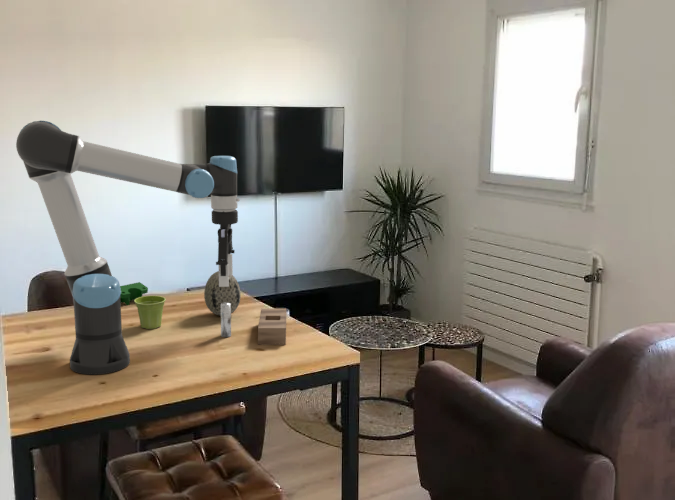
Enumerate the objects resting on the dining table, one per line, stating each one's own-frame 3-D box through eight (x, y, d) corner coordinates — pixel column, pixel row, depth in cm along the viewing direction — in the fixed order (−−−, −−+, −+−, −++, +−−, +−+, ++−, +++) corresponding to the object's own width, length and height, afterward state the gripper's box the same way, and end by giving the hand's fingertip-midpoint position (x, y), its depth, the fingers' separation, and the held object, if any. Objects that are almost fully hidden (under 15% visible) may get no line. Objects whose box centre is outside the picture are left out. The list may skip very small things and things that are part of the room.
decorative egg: (230, 322, 231) (230, 276, 228) (198, 318, 235) (197, 273, 232) (246, 312, 242) (246, 268, 239) (214, 308, 246) (214, 265, 243)
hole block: (285, 344, 212) (285, 328, 211) (258, 344, 211) (258, 328, 210) (286, 323, 231) (286, 308, 230) (261, 323, 231) (261, 308, 230)
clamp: (124, 317, 249) (117, 297, 243) (114, 310, 252) (107, 290, 246) (152, 299, 255) (146, 279, 250) (142, 292, 259) (136, 272, 253)
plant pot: (168, 329, 223) (167, 302, 221) (137, 332, 220) (136, 304, 218) (164, 320, 232) (163, 294, 230) (133, 323, 228) (132, 296, 226)
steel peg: (230, 337, 217) (230, 305, 215) (220, 337, 217) (220, 305, 215) (231, 334, 220) (231, 302, 218) (221, 334, 220) (221, 302, 218)
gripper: (234, 216, 199) (235, 291, 203) (240, 203, 223) (241, 270, 227) (206, 216, 198) (208, 291, 202) (216, 203, 222) (217, 270, 227)
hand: (226, 280), depth 215 cm, fingers open, 13 cm apart
